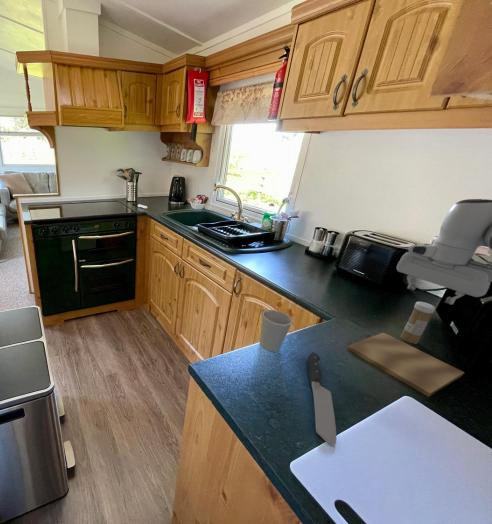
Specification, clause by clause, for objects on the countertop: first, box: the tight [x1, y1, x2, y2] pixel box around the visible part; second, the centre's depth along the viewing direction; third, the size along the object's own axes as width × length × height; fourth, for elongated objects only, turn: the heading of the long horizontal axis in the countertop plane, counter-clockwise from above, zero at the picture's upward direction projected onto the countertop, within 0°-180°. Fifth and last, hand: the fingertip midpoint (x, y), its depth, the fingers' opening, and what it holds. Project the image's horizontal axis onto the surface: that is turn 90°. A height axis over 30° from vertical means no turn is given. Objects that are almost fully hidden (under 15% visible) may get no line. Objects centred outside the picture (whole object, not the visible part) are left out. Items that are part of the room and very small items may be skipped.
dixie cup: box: [259, 309, 294, 352], centre depth 86 cm, size 8×8×10 cm
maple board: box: [346, 332, 465, 398], centre depth 84 cm, size 20×20×1 cm
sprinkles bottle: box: [400, 301, 436, 345], centre depth 93 cm, size 5×5×13 cm
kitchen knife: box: [306, 351, 337, 448], centre depth 70 cm, size 29×3×5 cm
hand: (428, 296), depth 89 cm, fingers open, 8 cm apart
